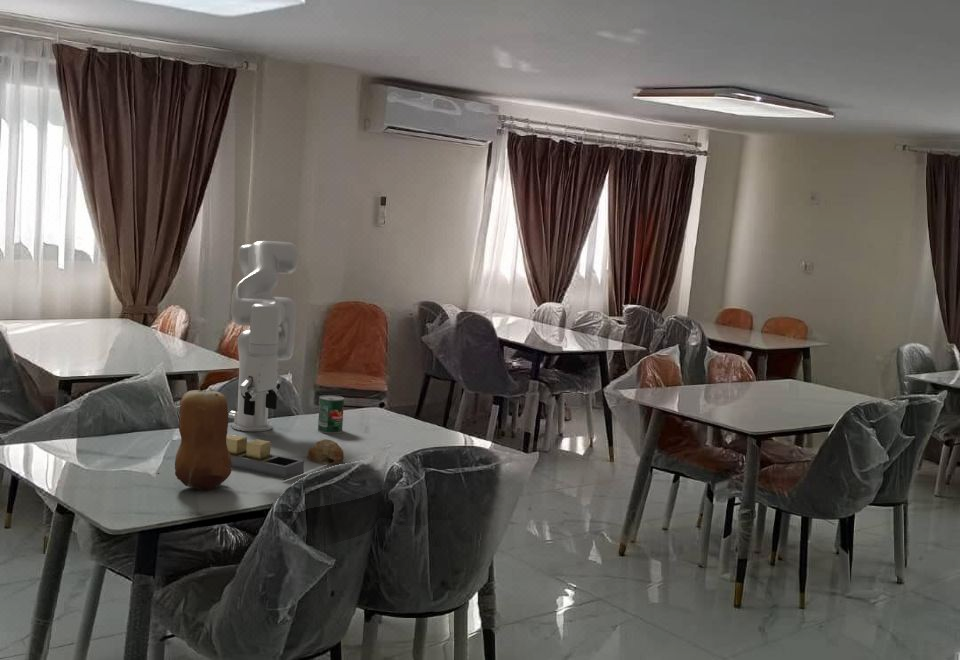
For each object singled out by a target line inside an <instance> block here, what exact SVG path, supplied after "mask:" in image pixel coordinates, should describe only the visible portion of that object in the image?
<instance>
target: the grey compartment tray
mask: <svg viewBox="0 0 960 660" xmlns="http://www.w3.org/2000/svg"><path fill="white" fill-rule="evenodd" d="M246 453H247V452H246ZM246 453H245V454H242V455H239V456H234V455H230V456H231V462H232V465H231V468H232V469H238V470H242V471H243V470H244V471H248V472H253V473H258V474H262V475H267V476H271V477H272V476H273V477H277V478H281V479H282V478H283V481H287V480H289V479H292V478H295V477H298V476H300V475H302V474H303V475H304V472H305V471H304V469H305V466H304V465H305V460H302V459H297V458H292V457H289V456H288V457H287V456H284V455H278V454H272V453H270V458H268V459H265V460H262V461H259V460H254V459H249V458H246Z"/></svg>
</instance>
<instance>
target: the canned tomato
mask: <svg viewBox="0 0 960 660" xmlns="http://www.w3.org/2000/svg"><path fill="white" fill-rule="evenodd" d="M318 403H319V404H318V418H317V419H318V422H317V431H318V432H319V433H323V434H341V433H342V432H343V424H344V423H343V421H344V407H345V397H343V396H341V395H335V394H334V395H331V394H328V395H325V394H324V395H320V396H319V402H318Z"/></svg>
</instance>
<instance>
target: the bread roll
mask: <svg viewBox="0 0 960 660" xmlns="http://www.w3.org/2000/svg"><path fill="white" fill-rule="evenodd" d="M344 453H345V452H344V450H343V449H342V447H341V446H340V445H339V444H338V443H337V442H336V441H334V440H331V439H321V440H319V441H317V442H316V443H315V444H313V445H312V446H310V448H309V449H308V452H307V459H308V461H310V462H314V463H319V464H323V466H328V465H330V464H331V465H332V464H333V465H338V464H337V463H339V464H341V463H342V462H343V460H344ZM331 465H330V466H331Z"/></svg>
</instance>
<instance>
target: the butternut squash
mask: <svg viewBox="0 0 960 660" xmlns="http://www.w3.org/2000/svg"><path fill="white" fill-rule="evenodd" d="M179 403H180V404H179V421H178V430H179V435H180V444H179V446H178V449H177V452H176V455H175V460H174V470H175V471H174V474H175V476H176V478H177V480H179V481H180V482H181V483H182V484H183V485H184V486H186V487H189V488H191V489H197V488H198V490H200V489H202V490H201V491H205V490H206V491H209V489H210V490H214V489H215V488H217V487H218V486H220V485H221V484H222V483H224V482H225V481H226V480H227V479H228V478H229V477H230V475H231V473H232V467H231V465H232V462H231V456H230V453H229V450H228V448H227V443H226V437H228V436H227V435H228V430H229V417H228V415H229V408H228V402H227V399H226V396H225V395H224V394H223V393H222V392H219V391H214V390H212V391H211V390H209V391H207V390H197V389H194V390H189V391H187V392H185V393H184V394H183V396H182V398H181V401H180V402H179Z"/></svg>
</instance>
